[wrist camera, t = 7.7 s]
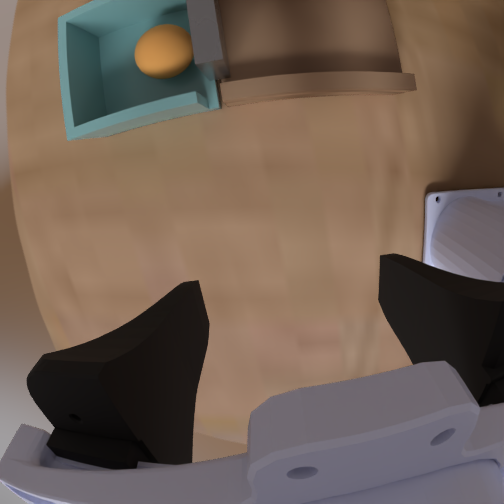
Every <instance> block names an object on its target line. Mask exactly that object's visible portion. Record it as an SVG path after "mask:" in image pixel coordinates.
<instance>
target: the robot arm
mask: <svg viewBox="0 0 504 504" xmlns="http://www.w3.org/2000/svg"><path fill="white" fill-rule="evenodd" d="M498 193H499V195H498ZM437 196H438V201H436V197H437ZM378 300H379V303H380V305H381V308H382V310H383V313H384V315H385V317H386V319H387V321H388V323H389V324H390V326H391V328H392V329H393V331H394V333H395V334H396V336H397V337H398V339H399V341H400V342H401V344H402V346H403V347H404V349H405V351H406V352H407V354H408V356H409V358H410V360H411V362H412V364H413V365H411V366H407V367H403V368H399V369H395V370H391V371H387V372H383V373H379V374H374V375H370V376H365V377H361V378H356V379H351V380H346V381H340V382H335V383H329V384H323V385H317V386H311V387H304V388H298V389H295V390H292V391H289V392H285V393H282V394H279V395H275V396H272V397H270V398H269V399H267V400H266V401H265V402H264V403H262V404H261V405H260V406H259V407H257V408H256V409H255V410H254V411H252V412H251V415H250V420H249V425H248V445H247V446H248V447H247V453H242V454H238V455H233V456H228V457H223V458H218V459H213V460H208V461H201V462H195V463H192V447H193V426H194V413H195V402H196V394H197V388H198V384H199V380H200V375H201V371H202V367H203V363H204V359H205V354H206V350H207V346H208V338H209V324H210V323H209V319H208V316H207V312H206V308H205V304H204V300H203V296H202V292H201V288H200V284H199V280H197V281H188V282H183V283H181V284H180V285H178V286H177V287H175V288H174V289H173V290H172V291H170V292H169V293H168V294H167V295H165V296H164V297H163V298H162V299H160V300H159V301H158V302H157V303H155V304H154V305H153V306H151V307H150V308H148V309H147V310H146V311H144V312H143V313H142V314H140V315H139V316H137V317H136V318H134V319H133V320H131V321H130V322H128V323H126V324H124V325H123V326H121V327H119V328H117V329H116V330H113V331H111V332H109V333H107V334H105V335H103V336H101V337H99V338H96V339H94V340H91V341H89V342H86V343H83V344H80V345H77V346H74V347H71V348H68V349H64V350H60V351H56V352H52V353H47V354H44V355H43V356H42V357H41V358H40V359H39V361H38V362H37V363H36V365H35V366H34V367H33V369H32V370H31V371H30V373H29V374H28V377H27V387H28V390H29V392H30V395H31V397H32V398H33V400H34V401H35V403H36V404H37V405H38V407H39V408H40V409H41V411H42V412H43V414H44V415H45V416H46V417H47V419H48V420H49V421H50V422H51V424H52V425H53V426H54V427H55V429H54V430H53V432H52V434H49V433H48V432H46V431H45V430H42V429H39V428H36V427H32V426H29V425H26V424H21V425H20V427H19V429H18V431H17V432H16V434H15V436H14V437H13V439H12V441H11V443H10V444H9V446H8V448H7V450H6V452H5V454H4V455H3V457H2V459H1V461H0V482H1V483H3V484H4V485H5V486H6V487H7V488H9V489H10V490H11V491H12V492H14V493H15V494H16V495H18V496H19V497H20V498H21V499H23V500H24V501H25V502H26V503H28V504H504V188H485V189H469V190H454V191H440V192H430V193H428V194H427V195H426V198H425V232H424V250H423V263H422V262H420V261H417V260H414V259H411V258H409V257H406V256H403V255H399V254H394V253H393V254H387V255H380V276H379V297H378Z"/></svg>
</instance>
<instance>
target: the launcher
mask: <svg viewBox="0 0 504 504" xmlns="http://www.w3.org/2000/svg"><path fill="white" fill-rule="evenodd" d="M218 3H219V7H220V13H221V19H222V25H223V32H224V38H225V44H226V50H227V56H228V62H229V68H230V75H231V77H230V78H224V79H221V80H222V83H220V88H221V94H222V101H223V102H224V103H225V104H226V105H227V106H228V107H231V106H237V105H244V104H251V103H258V102H266V101H274V100H283V99H294V98H305V97H319V96H339V95H395V94H400V93H404V92H409V91H414V90H417V89H416V82H415V76H414V74H410V73H402V69H401V63H400V58H399V53H398V48H397V44H396V39H395V35H394V31H393V27H392V23H391V19H390V15H389V11H388V8H387V4H386V1H385V0H218Z"/></svg>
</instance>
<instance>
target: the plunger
mask: <svg viewBox="0 0 504 504" xmlns="http://www.w3.org/2000/svg"><path fill="white" fill-rule="evenodd" d="M186 3H187V11H188V18H189V25H190V33H191V40H192V47H193V53H194V60H195V65H196V66H197V67H198V68H199V69H200V71H201V72H202V73H203V74H204V75H205V76H206V77H207V78H208V80H209V81H213V80H218V79H224V78H230V77H231V75H230V68H229V62H228V56H227V50H226V44H225V38H224V32H223V25H222V19H221V13H220V7H219V3H218V0H186Z"/></svg>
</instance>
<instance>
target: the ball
mask: <svg viewBox="0 0 504 504" xmlns="http://www.w3.org/2000/svg"><path fill="white" fill-rule="evenodd" d="M193 56H194V53H193V47H192V40H191V36H190V34H189V33H188V32H187V31H186V30H185V29H183V28H182V27H179V26H177V25H172V24H163V25H158V26H155V27H153V28H151V29H149V30H148V31H146V32H145V33H144V34H143V35H142V36H141V37H140V39H139V40H138V42H137V44H136V47H135V61H136V64H137V66H138V67H139V69H140V70H141V71H142V72H143V73H144V74H146V75H147V76H149V77H152V78H156V79H167V78H171V77H174V76H177V75H179V74H180V73H182V72H183V71H184V70H185V69H186V68H187V67H188V66H189V65H190V63H191V61H192V59H193Z"/></svg>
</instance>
